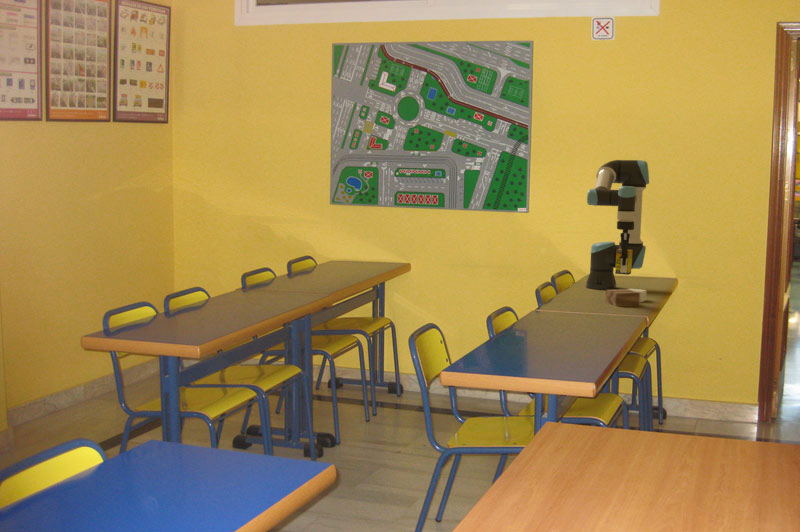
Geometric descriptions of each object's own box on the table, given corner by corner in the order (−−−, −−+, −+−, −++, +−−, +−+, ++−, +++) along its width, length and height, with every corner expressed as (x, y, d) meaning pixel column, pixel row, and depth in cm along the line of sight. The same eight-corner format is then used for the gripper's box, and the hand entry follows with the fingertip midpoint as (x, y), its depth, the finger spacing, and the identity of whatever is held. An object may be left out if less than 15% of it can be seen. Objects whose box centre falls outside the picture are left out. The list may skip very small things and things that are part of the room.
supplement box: (615, 273, 390) (616, 249, 388) (618, 272, 395) (619, 248, 393) (628, 274, 387) (629, 250, 385) (631, 273, 392) (632, 249, 391)
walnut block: (605, 302, 397) (605, 289, 396) (627, 302, 399) (628, 289, 398) (615, 306, 386) (616, 293, 386) (638, 306, 388) (639, 293, 388)
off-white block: (623, 301, 402) (623, 290, 401) (629, 298, 408) (629, 288, 408) (640, 302, 397) (640, 292, 397) (645, 300, 404) (646, 290, 403)
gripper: (635, 222, 377) (632, 274, 380) (633, 219, 396) (631, 269, 399) (617, 221, 379) (614, 273, 382) (617, 219, 398) (614, 268, 401)
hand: (623, 271), depth 391 cm, fingers closed on supplement box, 7 cm apart
